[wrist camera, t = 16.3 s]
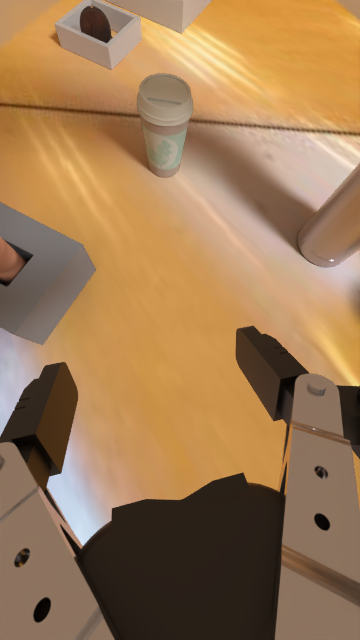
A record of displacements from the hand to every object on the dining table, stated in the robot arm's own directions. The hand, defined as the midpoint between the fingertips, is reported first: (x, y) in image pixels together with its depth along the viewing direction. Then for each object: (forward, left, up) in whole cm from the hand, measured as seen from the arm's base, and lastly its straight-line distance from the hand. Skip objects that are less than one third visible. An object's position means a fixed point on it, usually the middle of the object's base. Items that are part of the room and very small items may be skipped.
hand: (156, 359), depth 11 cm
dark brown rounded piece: (-58, -48, -24) cm, 79 cm away
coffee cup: (-35, -18, -24) cm, 47 cm away
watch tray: (-59, -47, -24) cm, 80 cm away
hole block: (-3, -24, -24) cm, 34 cm away
